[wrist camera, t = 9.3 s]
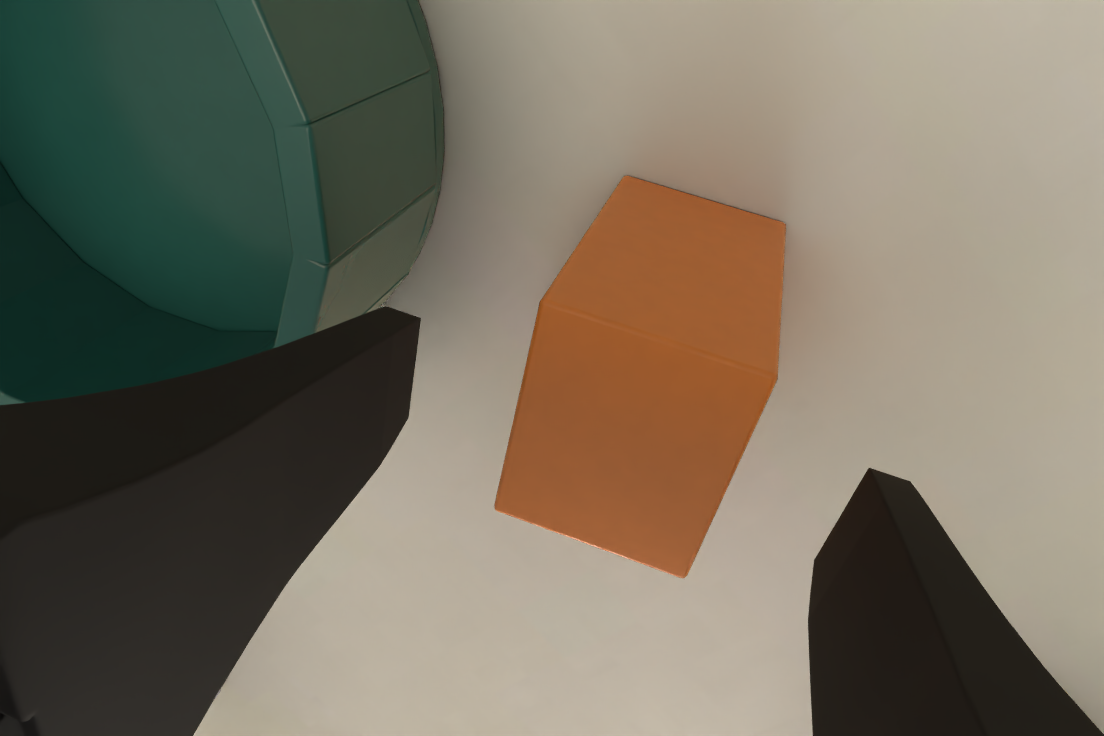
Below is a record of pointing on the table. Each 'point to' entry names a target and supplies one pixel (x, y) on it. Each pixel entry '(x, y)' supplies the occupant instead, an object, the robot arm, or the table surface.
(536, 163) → the table surface
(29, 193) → the lunch tin
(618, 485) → the orange rectangular block
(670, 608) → the table surface
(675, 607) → the table surface
